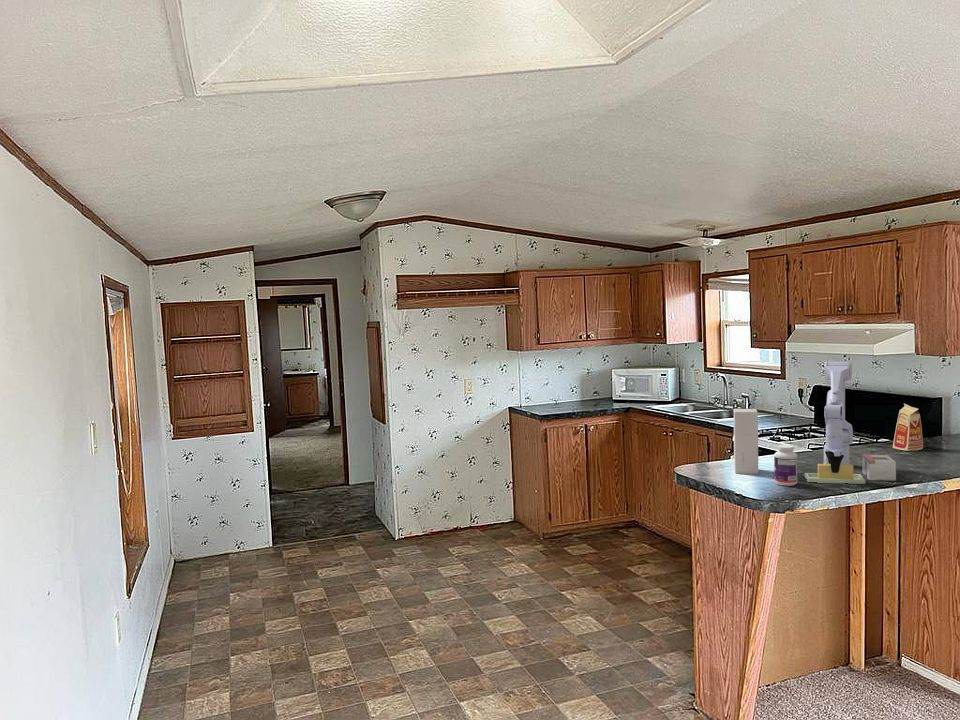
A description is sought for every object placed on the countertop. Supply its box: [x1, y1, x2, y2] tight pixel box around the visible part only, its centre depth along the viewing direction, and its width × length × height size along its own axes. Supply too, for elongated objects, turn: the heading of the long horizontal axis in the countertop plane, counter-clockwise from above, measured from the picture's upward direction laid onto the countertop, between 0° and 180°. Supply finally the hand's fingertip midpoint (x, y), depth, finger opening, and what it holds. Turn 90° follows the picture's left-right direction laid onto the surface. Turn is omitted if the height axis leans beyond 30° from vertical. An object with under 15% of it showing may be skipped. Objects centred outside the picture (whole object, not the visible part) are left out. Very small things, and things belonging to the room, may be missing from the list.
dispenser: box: [861, 453, 897, 482], centre depth 297 cm, size 9×13×7 cm
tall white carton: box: [733, 408, 759, 475], centre depth 313 cm, size 9×9×25 cm
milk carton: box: [892, 403, 924, 452], centre depth 345 cm, size 9×9×20 cm
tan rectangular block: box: [817, 463, 854, 479], centre depth 293 cm, size 12×3×6 cm, turn 74°
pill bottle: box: [773, 444, 798, 487], centre depth 290 cm, size 8×8×14 cm
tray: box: [804, 472, 866, 485], centre depth 294 cm, size 20×10×2 cm, turn 74°
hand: (834, 471), depth 293 cm, fingers open, 3 cm apart
